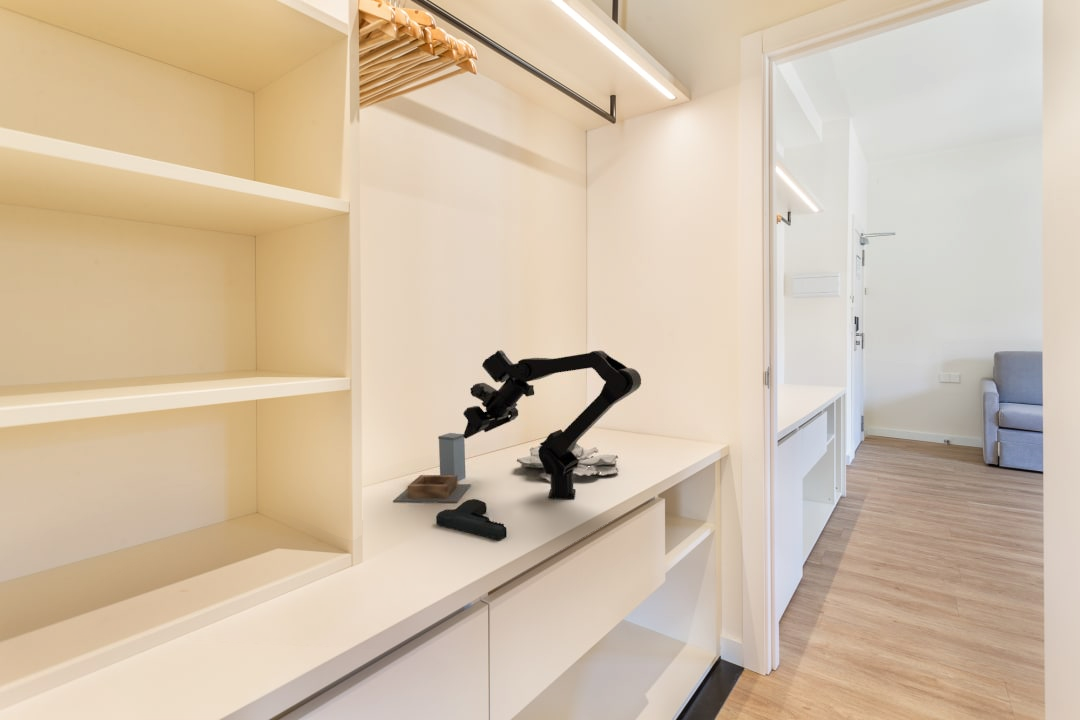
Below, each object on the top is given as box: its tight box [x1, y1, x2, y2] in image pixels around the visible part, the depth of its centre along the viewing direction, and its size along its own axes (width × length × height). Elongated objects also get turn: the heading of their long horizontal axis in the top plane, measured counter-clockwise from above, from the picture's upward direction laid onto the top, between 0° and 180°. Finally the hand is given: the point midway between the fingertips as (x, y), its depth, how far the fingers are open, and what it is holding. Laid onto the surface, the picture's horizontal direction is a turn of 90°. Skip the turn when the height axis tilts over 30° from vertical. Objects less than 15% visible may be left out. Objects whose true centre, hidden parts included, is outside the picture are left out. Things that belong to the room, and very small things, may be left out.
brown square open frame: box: [407, 474, 459, 498], centre depth 133 cm, size 10×10×3 cm
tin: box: [437, 432, 467, 482], centre depth 146 cm, size 5×5×12 cm
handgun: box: [435, 498, 508, 542], centre depth 112 cm, size 3×18×12 cm
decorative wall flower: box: [516, 443, 619, 483], centre depth 155 cm, size 30×7×30 cm
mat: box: [392, 483, 472, 504], centre depth 134 cm, size 16×14×1 cm
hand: (474, 434), depth 142 cm, fingers open, 9 cm apart
